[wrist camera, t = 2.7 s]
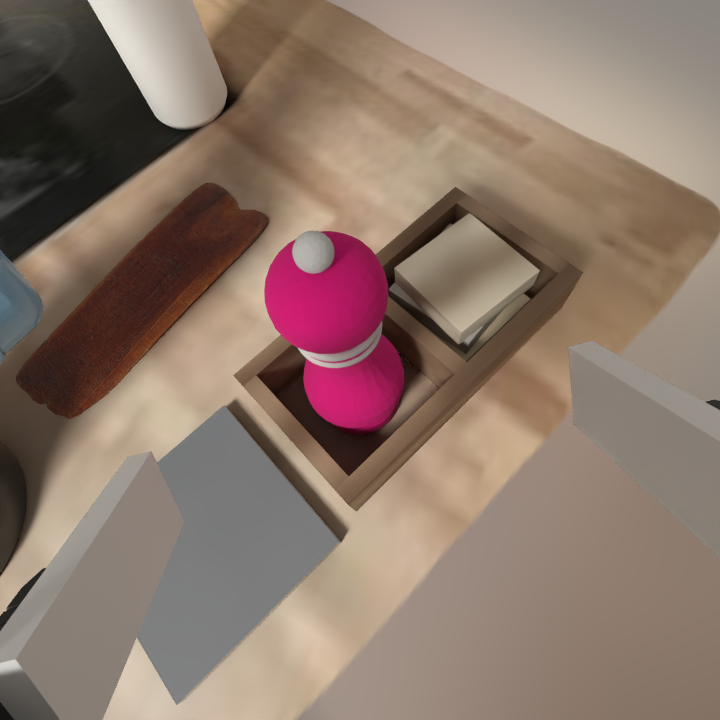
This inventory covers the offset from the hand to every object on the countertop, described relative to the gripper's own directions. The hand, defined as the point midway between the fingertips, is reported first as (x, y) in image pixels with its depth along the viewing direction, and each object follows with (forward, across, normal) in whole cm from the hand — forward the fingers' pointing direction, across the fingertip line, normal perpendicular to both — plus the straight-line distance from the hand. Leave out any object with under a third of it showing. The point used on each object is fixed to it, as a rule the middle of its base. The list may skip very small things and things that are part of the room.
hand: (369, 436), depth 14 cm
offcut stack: (+25, +9, -4) cm, 27 cm away
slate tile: (+15, -14, -14) cm, 25 cm away
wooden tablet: (+32, -18, +2) cm, 37 cm away
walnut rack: (+23, +4, -6) cm, 24 cm away
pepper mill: (+21, 0, -9) cm, 23 cm away
